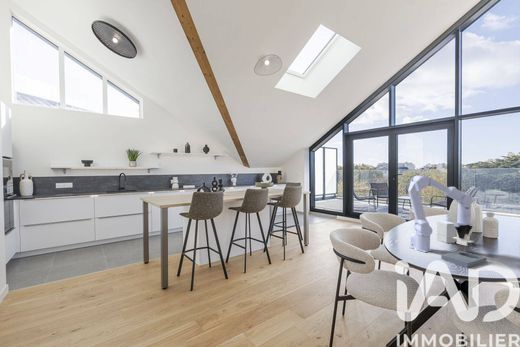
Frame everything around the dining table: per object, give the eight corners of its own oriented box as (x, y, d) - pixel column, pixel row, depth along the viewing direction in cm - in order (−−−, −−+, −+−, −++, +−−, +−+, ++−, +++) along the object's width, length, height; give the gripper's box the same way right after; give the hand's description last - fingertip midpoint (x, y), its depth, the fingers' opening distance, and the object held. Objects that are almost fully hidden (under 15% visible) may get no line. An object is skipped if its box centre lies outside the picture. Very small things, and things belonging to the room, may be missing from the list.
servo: (452, 242, 148) (453, 232, 147) (455, 241, 149) (456, 231, 149) (470, 246, 139) (470, 236, 139) (473, 246, 141) (474, 235, 140)
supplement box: (456, 242, 161) (456, 223, 160) (446, 243, 160) (446, 223, 159) (445, 239, 168) (446, 220, 168) (436, 239, 167) (436, 221, 167)
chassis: (441, 259, 133) (441, 254, 133) (460, 254, 140) (460, 250, 140) (467, 267, 122) (467, 263, 122) (486, 262, 129) (486, 257, 129)
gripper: (464, 217, 137) (463, 241, 137) (479, 214, 143) (478, 238, 143) (450, 214, 143) (449, 237, 144) (465, 212, 149) (464, 235, 150)
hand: (463, 237), depth 144 cm, fingers closed on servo, 3 cm apart
